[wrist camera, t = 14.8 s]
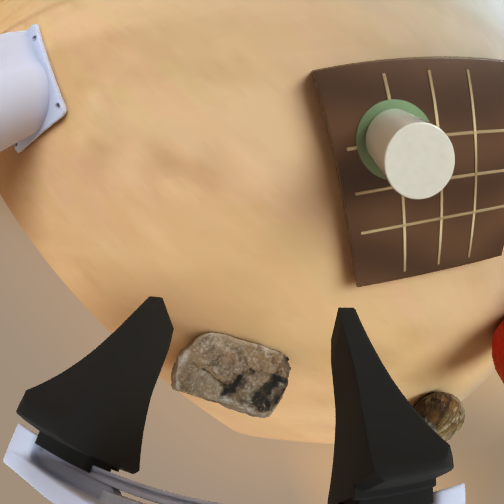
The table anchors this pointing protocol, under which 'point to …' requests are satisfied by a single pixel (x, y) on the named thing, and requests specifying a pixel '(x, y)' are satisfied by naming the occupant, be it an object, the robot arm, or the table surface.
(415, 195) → the white cylinder
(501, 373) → the apple
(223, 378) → the stone
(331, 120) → the game board
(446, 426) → the seashell
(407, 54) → the table surface
